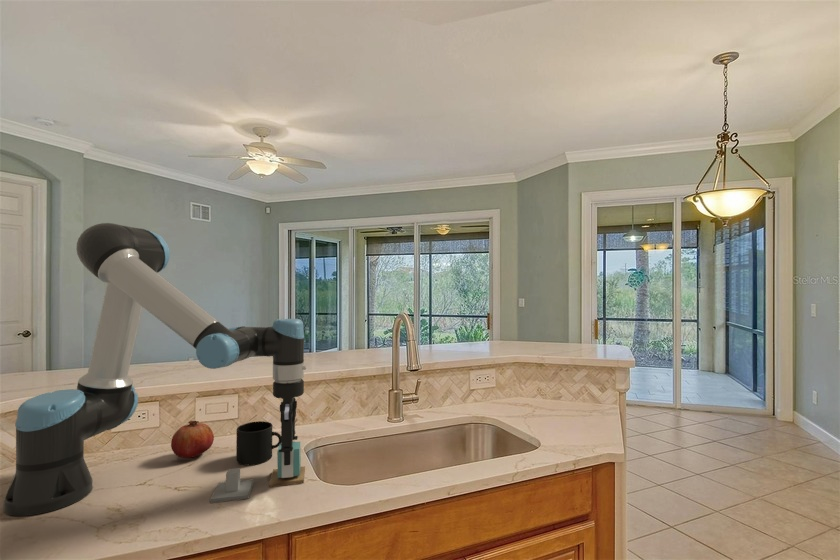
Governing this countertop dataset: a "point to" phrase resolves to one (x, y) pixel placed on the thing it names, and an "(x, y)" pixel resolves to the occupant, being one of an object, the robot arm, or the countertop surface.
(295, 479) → the brown base with post
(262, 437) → the mug
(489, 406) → the countertop surface
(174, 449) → the fruit
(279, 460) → the teal rectangular block
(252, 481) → the grey post
